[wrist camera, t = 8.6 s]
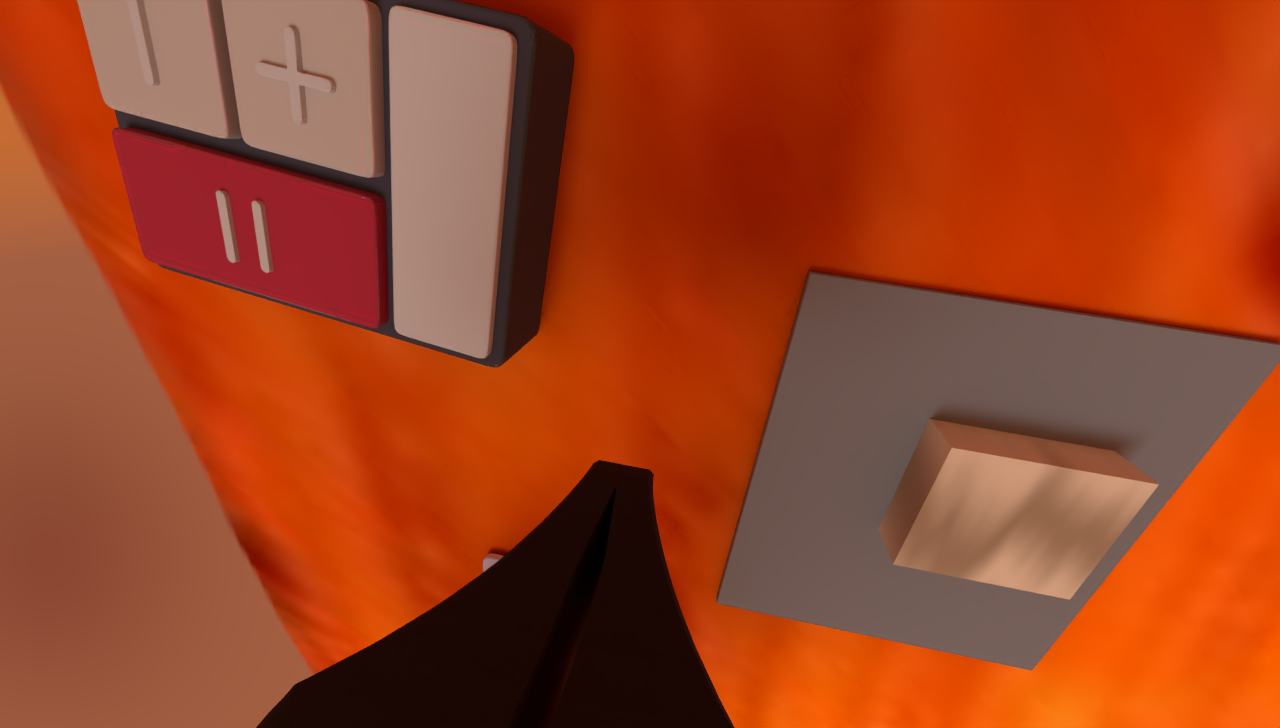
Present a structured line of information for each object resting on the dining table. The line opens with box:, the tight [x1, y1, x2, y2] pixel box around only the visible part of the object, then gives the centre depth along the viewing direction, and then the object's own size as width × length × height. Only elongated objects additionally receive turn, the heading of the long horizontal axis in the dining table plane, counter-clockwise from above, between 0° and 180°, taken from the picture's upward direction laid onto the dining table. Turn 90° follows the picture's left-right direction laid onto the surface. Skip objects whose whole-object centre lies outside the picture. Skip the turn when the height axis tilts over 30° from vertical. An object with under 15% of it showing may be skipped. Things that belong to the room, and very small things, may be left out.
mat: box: [717, 271, 1280, 670], centre depth 20 cm, size 18×16×1 cm
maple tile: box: [878, 419, 1159, 600], centre depth 19 cm, size 6×2×7 cm
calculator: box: [77, 0, 574, 367], centre depth 17 cm, size 11×4×15 cm
